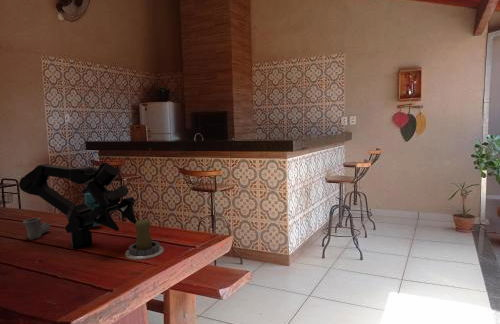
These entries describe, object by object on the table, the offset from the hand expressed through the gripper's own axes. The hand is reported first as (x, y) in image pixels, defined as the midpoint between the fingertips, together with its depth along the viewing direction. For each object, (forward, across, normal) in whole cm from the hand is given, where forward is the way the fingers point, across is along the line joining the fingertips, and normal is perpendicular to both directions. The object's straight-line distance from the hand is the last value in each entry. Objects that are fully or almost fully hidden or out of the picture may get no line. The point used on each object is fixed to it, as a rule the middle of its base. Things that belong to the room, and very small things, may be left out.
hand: (127, 226), depth 134 cm
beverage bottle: (-18, +20, +32) cm, 42 cm away
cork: (+11, 0, +1) cm, 11 cm away
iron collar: (+11, 0, +1) cm, 11 cm away
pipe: (-28, +3, +42) cm, 51 cm away
